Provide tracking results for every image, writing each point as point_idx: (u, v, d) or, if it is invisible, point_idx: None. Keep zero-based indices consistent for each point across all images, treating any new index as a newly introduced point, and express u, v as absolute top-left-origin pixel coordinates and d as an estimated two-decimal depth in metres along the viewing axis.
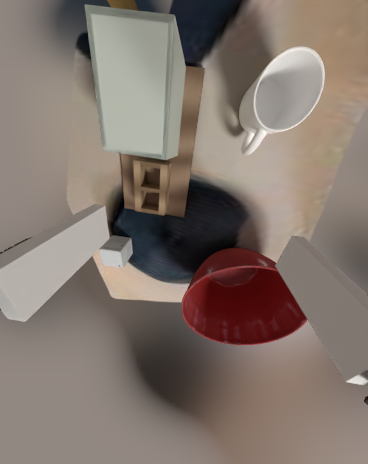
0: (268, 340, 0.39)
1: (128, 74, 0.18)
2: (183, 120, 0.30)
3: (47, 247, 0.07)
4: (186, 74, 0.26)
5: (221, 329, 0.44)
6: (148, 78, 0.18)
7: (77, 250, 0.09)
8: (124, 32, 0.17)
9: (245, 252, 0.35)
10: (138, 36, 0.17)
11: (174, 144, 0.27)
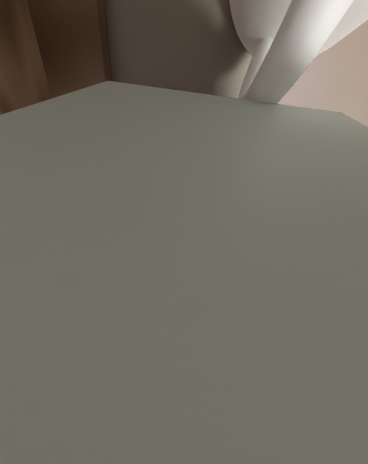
0: None
1: None
2: (60, 31, 0.10)
3: None
4: None
5: None
6: None
7: None
8: None
9: None
10: None
11: None
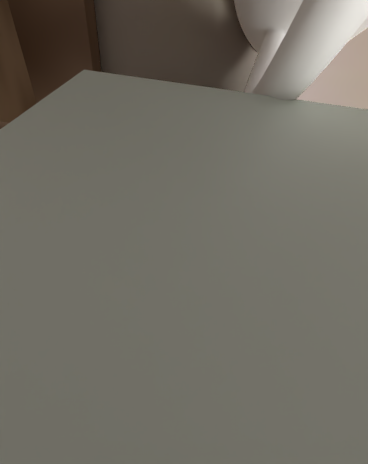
0: None
1: None
2: (43, 29, 0.09)
3: None
4: None
5: None
6: None
7: None
8: None
9: None
10: None
11: None
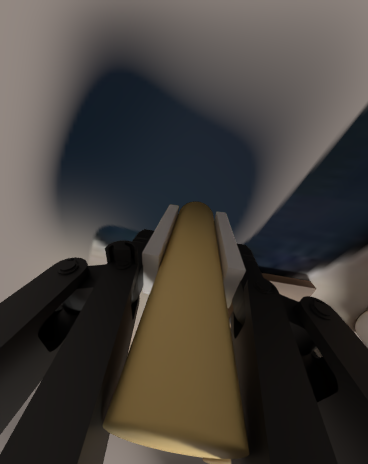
0: None
1: None
2: None
3: (167, 238, 0.08)
4: (281, 290, 0.16)
5: None
6: None
7: None
8: None
9: None
10: None
11: None
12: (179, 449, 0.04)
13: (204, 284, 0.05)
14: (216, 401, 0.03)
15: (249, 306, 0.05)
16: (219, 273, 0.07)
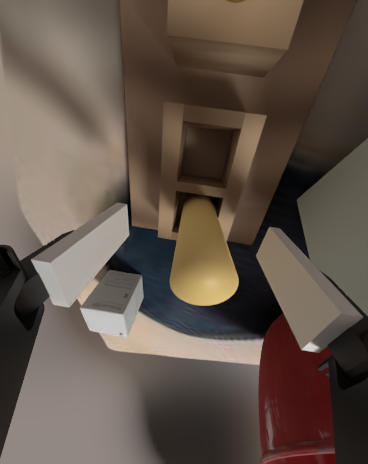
0: None
1: None
2: None
3: (86, 241, 0.07)
4: None
5: None
6: None
7: (106, 245, 0.09)
8: None
9: None
10: None
11: None
12: (204, 297, 0.08)
13: (212, 225, 0.09)
14: (223, 256, 0.07)
15: None
16: (220, 225, 0.10)
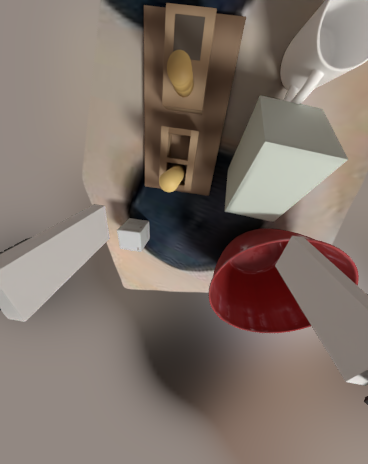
0: (299, 327, 0.37)
1: (275, 182, 0.21)
2: (217, 81, 0.27)
3: (47, 247, 0.07)
4: (224, 25, 0.24)
5: (246, 317, 0.41)
6: (292, 186, 0.22)
7: (77, 250, 0.09)
8: (291, 161, 0.18)
9: (279, 230, 0.32)
10: (302, 165, 0.19)
11: None
12: (169, 188, 0.25)
13: (175, 170, 0.27)
14: (173, 173, 0.24)
15: None
16: (180, 172, 0.28)
